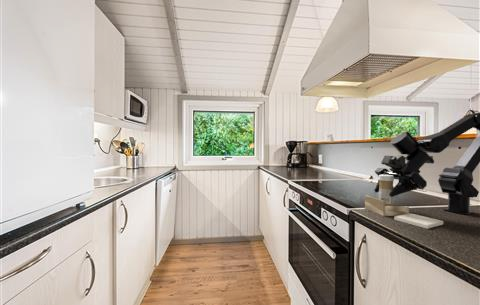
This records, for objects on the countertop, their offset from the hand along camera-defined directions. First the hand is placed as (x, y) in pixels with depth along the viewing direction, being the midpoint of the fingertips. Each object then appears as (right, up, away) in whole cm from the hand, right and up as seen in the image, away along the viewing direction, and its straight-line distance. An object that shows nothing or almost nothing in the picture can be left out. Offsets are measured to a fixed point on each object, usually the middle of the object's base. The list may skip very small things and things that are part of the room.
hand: (382, 193), depth 81 cm
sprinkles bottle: (+1, -7, 0) cm, 7 cm away
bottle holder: (+1, -7, 0) cm, 7 cm away
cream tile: (+4, -7, -11) cm, 14 cm away
